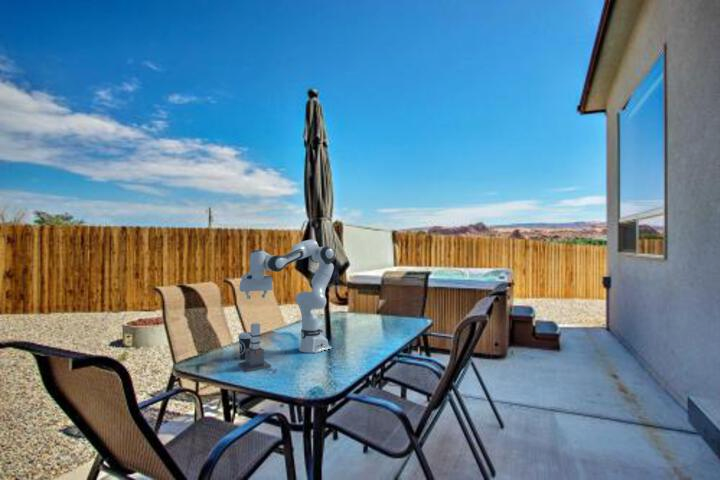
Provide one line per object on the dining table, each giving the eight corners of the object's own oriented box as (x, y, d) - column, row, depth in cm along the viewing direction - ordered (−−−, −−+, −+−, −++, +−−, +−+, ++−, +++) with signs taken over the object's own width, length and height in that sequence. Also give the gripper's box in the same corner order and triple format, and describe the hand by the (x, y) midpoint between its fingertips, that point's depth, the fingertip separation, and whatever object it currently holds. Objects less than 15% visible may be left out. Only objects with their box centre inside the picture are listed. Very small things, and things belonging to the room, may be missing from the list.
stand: (260, 361, 218) (261, 344, 218) (270, 367, 207) (271, 349, 207) (237, 365, 209) (238, 348, 210) (246, 372, 198) (247, 353, 199)
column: (256, 351, 212) (257, 323, 212) (259, 352, 208) (260, 324, 209) (249, 352, 209) (250, 323, 209) (252, 353, 205) (253, 325, 206)
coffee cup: (248, 360, 219) (249, 335, 219) (234, 359, 221) (235, 334, 221) (256, 356, 228) (257, 332, 229) (242, 355, 230) (243, 331, 230)
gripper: (270, 275, 234) (269, 296, 234) (238, 275, 222) (238, 298, 221) (274, 275, 229) (273, 297, 229) (242, 276, 217) (241, 299, 216)
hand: (256, 298), depth 225 cm, fingers open, 8 cm apart
